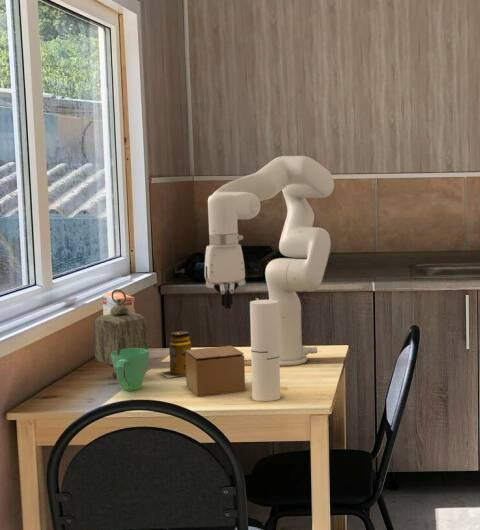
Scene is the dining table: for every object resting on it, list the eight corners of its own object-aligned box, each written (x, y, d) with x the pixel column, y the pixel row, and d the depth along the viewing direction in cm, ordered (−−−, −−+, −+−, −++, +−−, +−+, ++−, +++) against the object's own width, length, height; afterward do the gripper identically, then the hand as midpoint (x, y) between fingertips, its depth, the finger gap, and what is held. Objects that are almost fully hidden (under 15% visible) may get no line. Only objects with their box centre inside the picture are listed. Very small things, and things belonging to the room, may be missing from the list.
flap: (231, 346, 245) (231, 345, 245) (243, 354, 235) (243, 353, 235) (209, 349, 242) (208, 348, 242) (220, 357, 232) (220, 356, 232)
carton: (232, 381, 246) (231, 345, 245) (245, 390, 236) (244, 353, 235) (186, 386, 240) (185, 350, 239) (197, 396, 230) (196, 358, 229)
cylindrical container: (253, 394, 232) (251, 299, 229) (281, 393, 232) (278, 299, 230) (251, 401, 225) (248, 304, 222) (279, 400, 225) (277, 303, 222)
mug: (118, 384, 244) (117, 348, 243) (154, 383, 244) (153, 347, 243) (101, 398, 229) (100, 360, 228) (140, 397, 229) (138, 359, 228)
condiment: (196, 374, 255) (195, 333, 253) (167, 378, 250) (166, 336, 249) (187, 369, 261) (186, 329, 259) (159, 373, 256) (157, 332, 255)
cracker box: (138, 365, 266) (135, 296, 264) (117, 368, 263) (115, 298, 260) (123, 357, 278) (121, 291, 275) (104, 359, 274) (101, 293, 272)
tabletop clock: (149, 376, 252) (145, 289, 249) (121, 383, 245) (117, 293, 242) (120, 369, 261) (117, 285, 258) (93, 375, 254) (88, 289, 251)
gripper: (246, 237, 244) (249, 303, 246) (192, 240, 237) (195, 308, 239) (255, 239, 237) (257, 307, 239) (199, 243, 230) (202, 312, 233)
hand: (226, 307), depth 239 cm, fingers closed
